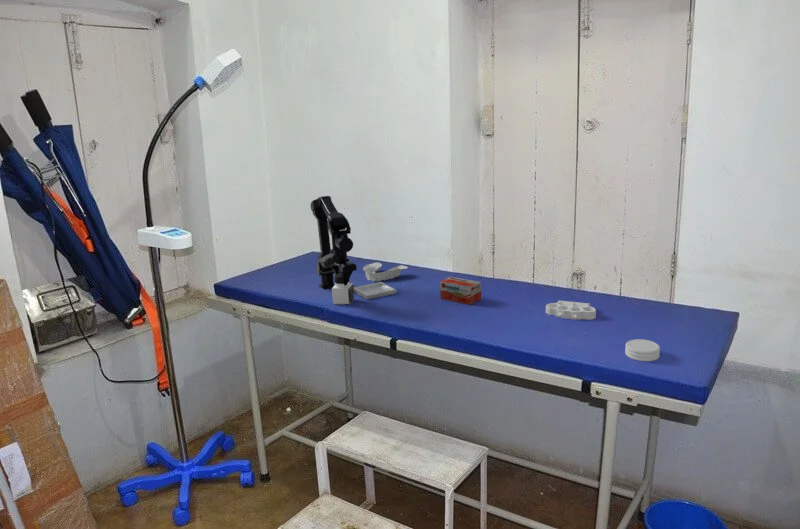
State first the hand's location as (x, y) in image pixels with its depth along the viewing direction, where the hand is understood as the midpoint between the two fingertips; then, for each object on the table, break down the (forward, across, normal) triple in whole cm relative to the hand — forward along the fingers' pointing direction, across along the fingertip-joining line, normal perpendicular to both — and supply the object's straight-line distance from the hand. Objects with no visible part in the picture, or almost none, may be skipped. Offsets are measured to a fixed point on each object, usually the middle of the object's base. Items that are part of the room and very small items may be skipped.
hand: (342, 283), depth 244 cm
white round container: (+8, +104, +55) cm, 118 cm away
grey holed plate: (+9, +65, +64) cm, 92 cm away
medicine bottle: (+8, 0, 0) cm, 8 cm away
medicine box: (+8, +27, +40) cm, 49 cm away
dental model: (+8, -22, +29) cm, 37 cm away
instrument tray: (+8, -3, +16) cm, 18 cm away
